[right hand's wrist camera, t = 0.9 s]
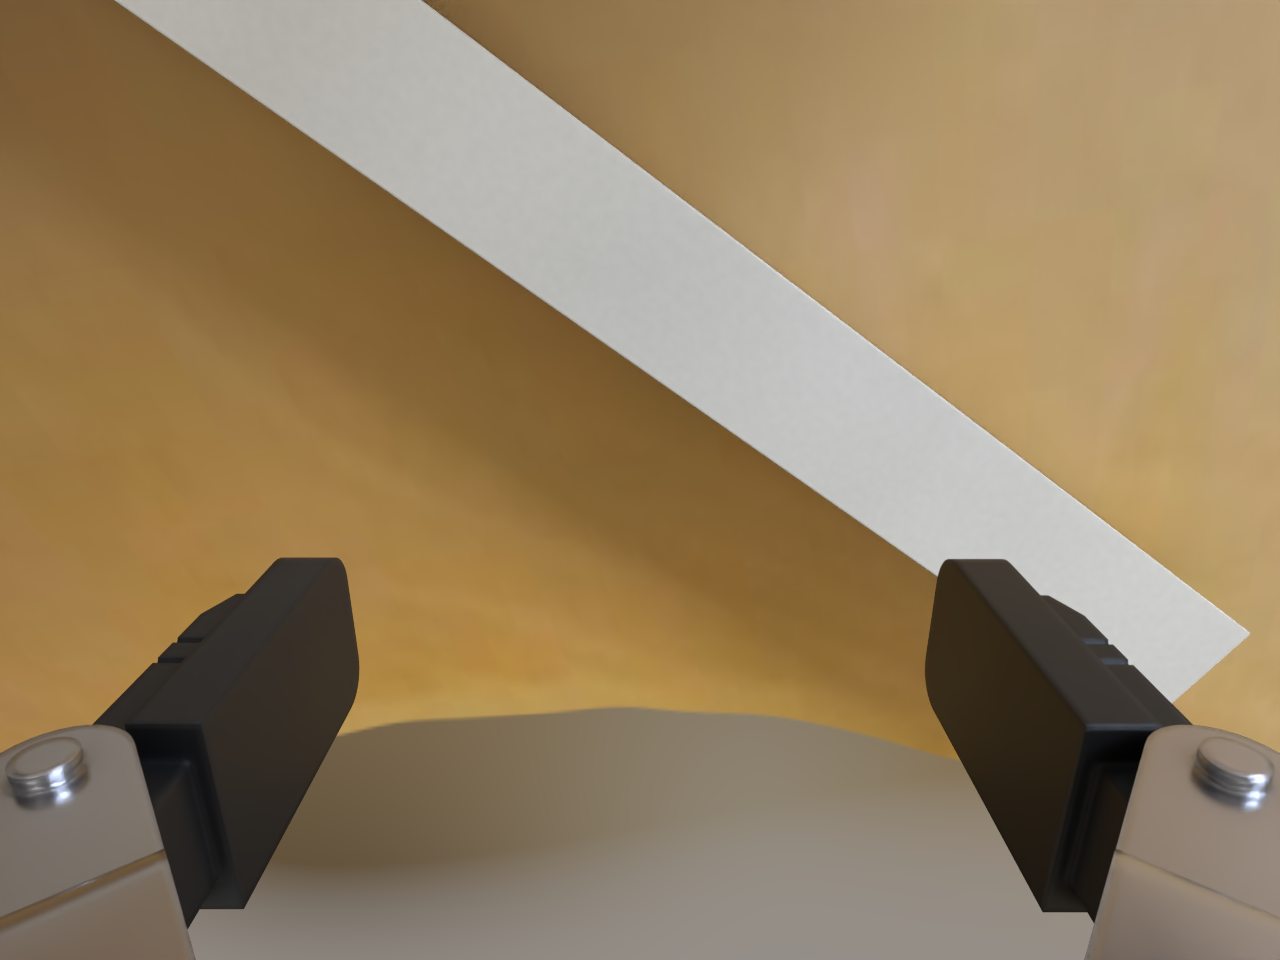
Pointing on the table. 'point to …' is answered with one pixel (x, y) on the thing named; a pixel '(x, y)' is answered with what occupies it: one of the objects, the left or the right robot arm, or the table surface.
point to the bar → (684, 302)
